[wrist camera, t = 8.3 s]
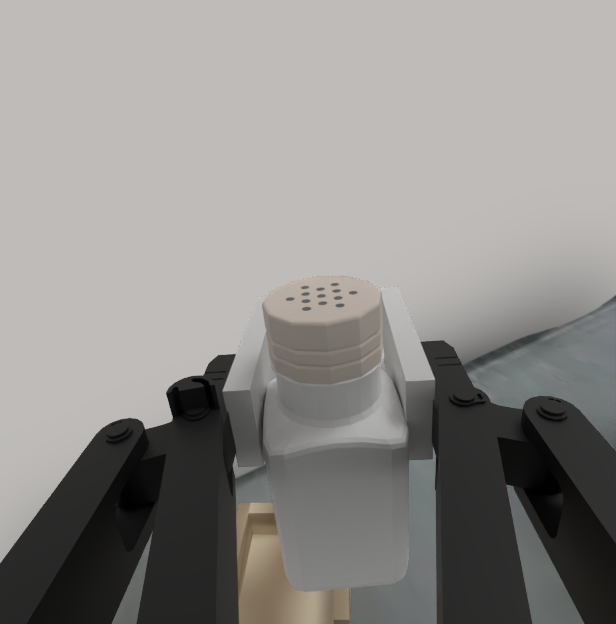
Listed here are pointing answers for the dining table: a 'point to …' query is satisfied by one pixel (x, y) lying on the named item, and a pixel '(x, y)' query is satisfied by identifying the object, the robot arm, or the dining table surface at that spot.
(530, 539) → the dining table surface
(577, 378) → the dining table surface
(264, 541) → the tray
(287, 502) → the pepper shaker
